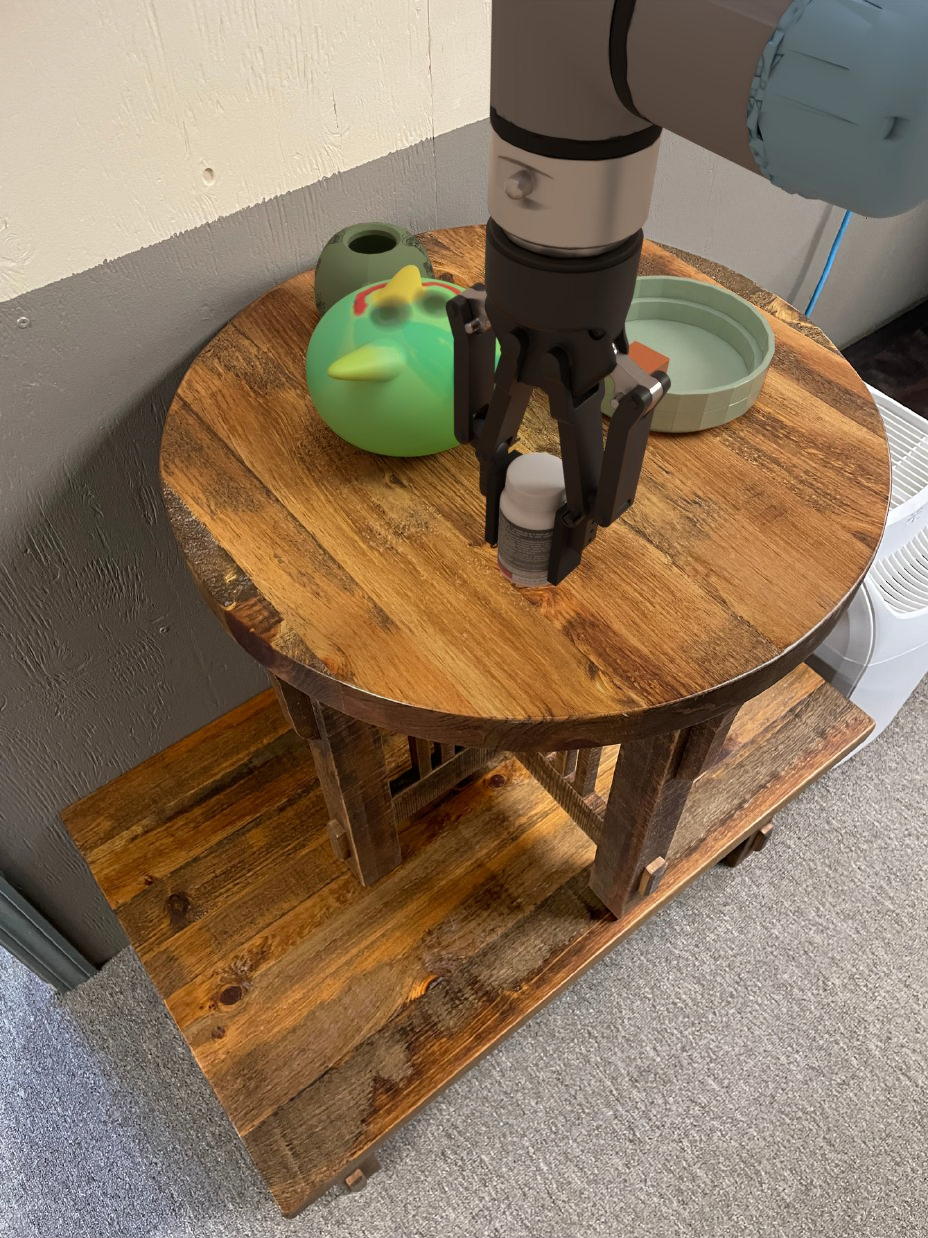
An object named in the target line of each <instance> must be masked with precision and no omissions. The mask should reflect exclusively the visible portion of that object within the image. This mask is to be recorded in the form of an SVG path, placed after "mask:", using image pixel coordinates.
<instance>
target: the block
mask: <svg viewBox="0 0 928 1238" xmlns="http://www.w3.org/2000/svg"><path fill="white" fill-rule="evenodd" d="M628 356H629V357H630V358H631V359H632V360H633V361H634V362H636V363H637V364H638V365H639V366H640V367H641V368H642V369H643V370H644V371H645V372H646V373H647V374H649V375H651V374H652V373H653V372H654V371H657V370H661V371H664V372H665V373H666V374H667V369H668V365H669V360H670V358H668V357H666V356H664V355H662V354H660V353H658V352H656V351H655V350H653V349H651V348H649V347H647V346H645V345H643V344H641V343H639V342H637V341H634V342H633V343H631V344H630V345H629V354H628Z"/></svg>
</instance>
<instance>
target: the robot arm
mask: <svg viewBox="0 0 928 1238" xmlns="http://www.w3.org/2000/svg"><path fill="white" fill-rule="evenodd" d="M490 19H491V20H490V21H491V23H490V24H491V25H490V70H489V73H490V75H489V76H490V77H489V83H490V84H489V125H488V126H489V127H488V160H487V161H488V164H487V166H488V167H487V192H486V193H487V195H486V196H487V199H486V203H487V212H488V213H489V215H490V216H489V217H488V220H487V222H486V224H485V238H484V239H485V244H484V245H485V246H484V280H483V283H482V282H476V283H474V284H472V285H471V286H469V287H467V288H465V289H466V290H464V291H463V292H461V293H460V294H458V295H457V296H455V297H453V298H452V299H450V300H448V301H447V302H446V306H445V307H446V312H447V316H448V320H449V324H450V327H451V331H452V335H453V338H454V436H455V438H456V440H457V441H458V442H459V443H460V444H461V445H462V446H466V445H468V444H469V445H470V446H471V447H472V448H473V449H474V450H475V451H474V455H475V458H476V460H477V461H478V462H479V473H478V474H479V475H478V476H479V478H478V488H479V492H480V494H481V495H482V496H484V497H485V517H484V519H485V521H484V525H485V526H484V542H486V543H487V544H489V545H490V546H492V547H494V546H495V545H496V544H498V534H499V513H500V497H501V494H502V491H503V489H504V488H505V482H506V475H507V469H508V467H509V465H510V464H511V462H512V461H513V460H514V459H516V458H517V457H519V456H521V455H524V454H523V453H522V452H520V451H519V450H516V449H515V448H514V449H513V450H511V451H510V452H509V449H510V448H512V447H513V446H514V445H516V444H517V443H518V442H519V441H521V439H522V438H521V437H518V436H519V435H518V434H519V431H520V428H521V425H522V422H523V420H524V417H525V414H526V411H527V408H528V406H529V403H530V400H531V397H532V395H533V392H534V389H535V388H538V389H539V390H541V392H543V393H544V394H545V395H546V396H548V397H547V398H548V406H549V414H550V418H551V419H552V420H553V421H556V422H557V430H558V431H557V432H558V439H559V449H560V456H561V458H560V459H561V460H562V466H563V475H564V484H565V492H566V501H567V502H566V503H565V504H564V505H563V506H561V507H560V508H559V509H558V510H557V511H556V512H555V520H554V528H553V536H552V544H551V552H550V560H549V568H548V576H547V581H548V582H549V583H550V585H552V586H554V587H558V585H559V584H561V583H562V581H563V580H565V579H567V577H568V576H569V575H570V574H571V573H572V572H573V571H574V570H575V569H576V568H578V567H579V566H580V565H581V562H582V557H583V556H582V555H583V551H584V550H585V549H586V548H588V547H589V546H590V545H591V544H592V543H593V542H594V541H595V539H596V538H597V534H598V533H597V532H598V529H599V527H602V528H603V529H607V528H609V527H610V526H611V525H613V524H614V523H615V522H616V520H618V519H619V518H620V517H621V516H622V515H624V513H626V511H627V510H629V509H630V508H631V507H632V506H633V505H634V503H635V498H636V496H637V495H636V494H637V490H638V485H639V481H640V477H641V473H642V472H641V471H642V467H643V463H644V459H645V453H646V451H647V450H646V449H647V445H648V440H649V437H650V431H651V430H650V427H651V423H652V418H653V414H654V409H655V408H656V406H657V405H658V404H659V402H660V401H661V400H662V398H663V397H664V396H665V394H666V393H667V392H668V390H669V389H670V387H671V380H670V378H669V376H668V375H667V374H666V373H665V372H664V371H661V370H657V371H654V372H653V373H652V374H651V375H649V374H647V373H646V372H645V371H644V370H643V369H642V368H641V367H640V366H639V365H638V364H637V363H636V362H634V361H633V360H632V359H631V358H630V357H629V356H628V354H629V342H628V339H627V335H626V330H625V321H626V317H627V314H628V311H629V308H630V305H631V302H632V299H633V295H634V291H635V285H636V279H637V276H638V273H639V268H640V263H641V262H640V261H641V257H642V256H641V255H642V251H643V245H644V237H645V236H644V229H643V227H644V225H645V223H646V222H647V221H648V219H649V213H650V207H651V201H652V196H653V189H654V184H655V178H656V173H657V165H658V159H659V152H660V147H661V141H662V135H663V130H664V129H665V130H666V131H669V132H671V133H673V134H674V135H677V136H678V137H681V138H683V139H685V140H687V141H689V142H691V143H693V144H695V145H696V146H699V147H701V148H703V149H705V150H707V151H709V152H710V153H711V152H712V153H714V154H715V155H718V156H719V157H722V158H723V159H726V160H727V161H729V162H732V163H734V164H736V165H737V166H740V167H741V168H743V169H745V170H747V171H750V172H752V173H754V174H756V175H758V176H760V177H762V178H764V179H766V180H768V181H769V182H770V184H771V185H773V186H774V187H777V188H778V189H781V190H782V191H783V192H785V193H787V194H788V195H791V196H793V195H798V196H800V197H801V198H803V199H805V200H815V201H816V200H818V201H821V202H824V203H827V204H830V205H833V206H834V207H838V208H840V209H844V210H846V211H848V212H851V213H854V214H857V215H859V216H862V217H866V218H869V219H870V218H871V219H888V218H894V217H897V216H901V215H903V214H906V213H908V212H910V211H912V210H914V209H916V208H917V207H919V206H922V204H924V203H925V202H926V201H928V0H491V17H490ZM496 337H497V340H498V342H499V344H500V346H501V347H500V351H501V355H500V358H499V361H498V365H497V368H496V371H495V357H496ZM608 375H609V376H610V377H611V378H612V380H613V382H614V387H615V388H614V392H613V397H614V398H613V399H611V401H610V405H611V407H612V408H613V409H616V410H615V412H614V413H613V415H612V417H611V418H610V420H609V423H608V427H607V433H606V440H605V444H604V430H603V417H602V416H603V415H602V412H601V403H602V400H603V398H604V396H605V379H604V378H605V377H607V376H608ZM494 383H495V384H496V386H495V389H494ZM473 415H474V416H473ZM517 437H518V438H517Z"/></svg>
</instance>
